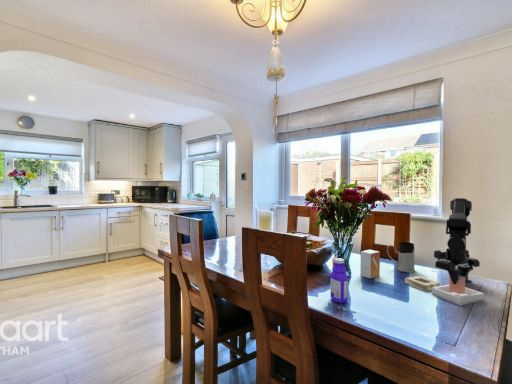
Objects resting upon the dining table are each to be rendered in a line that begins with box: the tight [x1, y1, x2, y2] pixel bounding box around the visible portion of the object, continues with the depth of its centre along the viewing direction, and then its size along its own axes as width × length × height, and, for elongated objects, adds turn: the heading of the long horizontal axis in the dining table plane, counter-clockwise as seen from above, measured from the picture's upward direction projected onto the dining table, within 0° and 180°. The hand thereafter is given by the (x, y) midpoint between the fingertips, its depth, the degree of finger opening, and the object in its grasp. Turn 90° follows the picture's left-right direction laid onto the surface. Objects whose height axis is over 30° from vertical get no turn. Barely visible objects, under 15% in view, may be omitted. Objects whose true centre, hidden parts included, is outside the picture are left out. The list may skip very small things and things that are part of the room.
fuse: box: [448, 275, 466, 294], centre depth 117 cm, size 3×5×7 cm
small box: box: [359, 249, 381, 279], centre depth 145 cm, size 8×6×13 cm
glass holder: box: [386, 241, 416, 273], centre depth 156 cm, size 9×14×15 cm, turn 71°
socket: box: [404, 275, 442, 292], centre depth 130 cm, size 9×11×2 cm
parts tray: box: [431, 284, 485, 306], centre depth 117 cm, size 14×12×3 cm
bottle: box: [330, 257, 349, 304], centre depth 115 cm, size 7×6×17 cm
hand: (457, 283), depth 117 cm, fingers closed on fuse, 3 cm apart
